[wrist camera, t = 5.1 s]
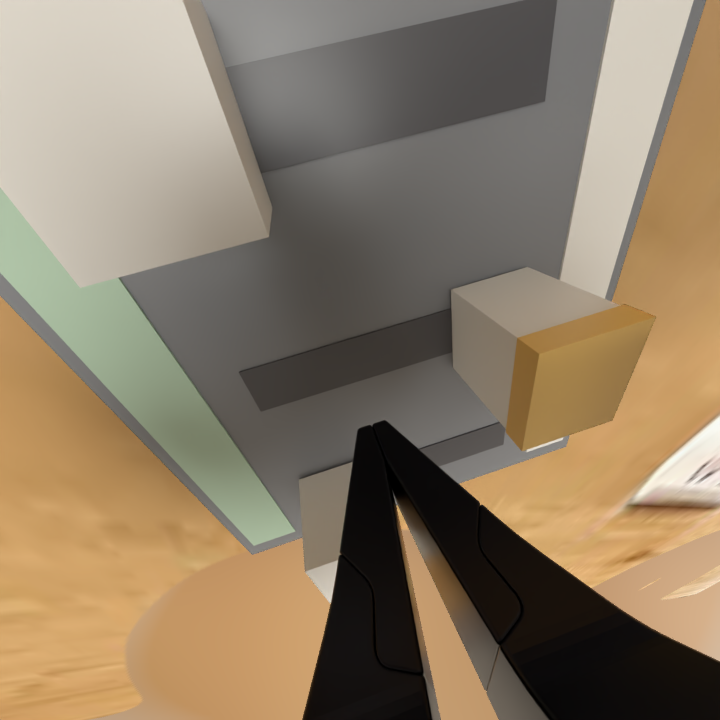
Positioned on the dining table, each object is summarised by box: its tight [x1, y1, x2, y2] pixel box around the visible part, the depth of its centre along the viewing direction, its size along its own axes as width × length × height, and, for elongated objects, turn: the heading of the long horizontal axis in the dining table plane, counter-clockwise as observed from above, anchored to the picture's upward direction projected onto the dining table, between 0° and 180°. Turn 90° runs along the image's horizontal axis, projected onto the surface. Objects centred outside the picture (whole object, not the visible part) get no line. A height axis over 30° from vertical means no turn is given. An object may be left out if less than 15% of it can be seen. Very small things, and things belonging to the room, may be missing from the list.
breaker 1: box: [0, 0, 272, 288], centre depth 5 cm, size 3×4×4 cm
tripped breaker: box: [451, 267, 656, 451], centre depth 10 cm, size 3×4×4 cm
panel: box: [0, 0, 706, 554], centre depth 12 cm, size 20×22×2 cm
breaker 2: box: [299, 462, 353, 603], centre depth 14 cm, size 3×4×4 cm
